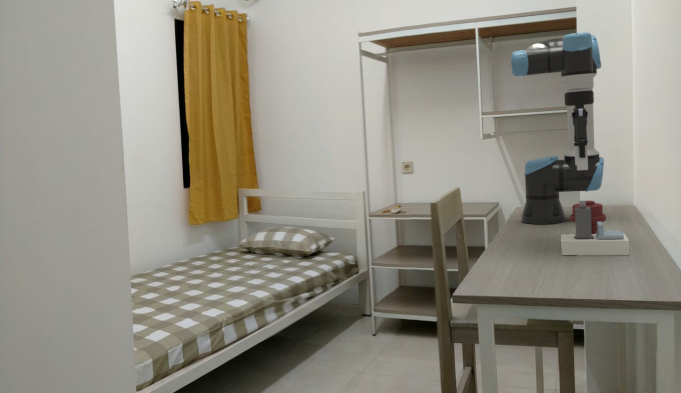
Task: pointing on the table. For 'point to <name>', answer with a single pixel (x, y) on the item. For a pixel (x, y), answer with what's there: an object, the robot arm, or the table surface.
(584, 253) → the socket
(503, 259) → the table surface
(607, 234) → the panel
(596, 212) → the mechanical component
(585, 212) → the plug
